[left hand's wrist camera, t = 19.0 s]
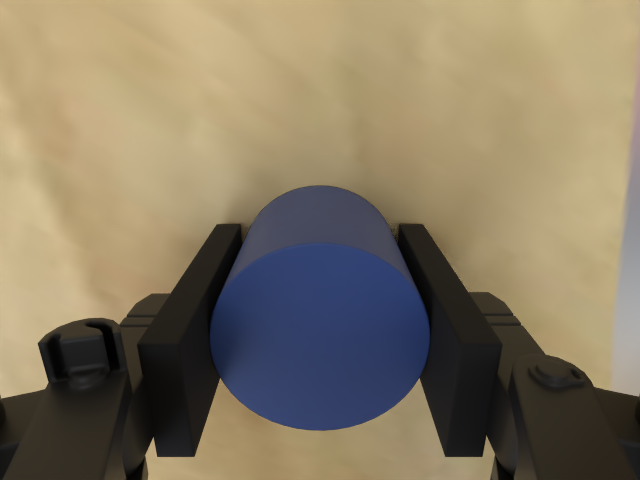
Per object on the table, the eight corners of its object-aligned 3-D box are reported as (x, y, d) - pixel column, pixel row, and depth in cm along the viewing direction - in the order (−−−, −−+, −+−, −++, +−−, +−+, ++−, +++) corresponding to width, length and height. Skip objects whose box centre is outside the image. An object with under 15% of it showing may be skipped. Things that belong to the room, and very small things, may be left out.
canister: (285, 156, 13) (267, 201, 9) (425, 230, 14) (475, 306, 10) (219, 287, 15) (175, 383, 10) (348, 346, 16) (360, 458, 11)
